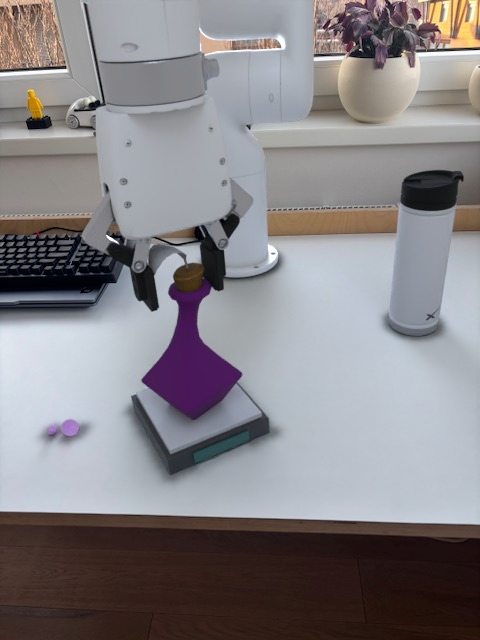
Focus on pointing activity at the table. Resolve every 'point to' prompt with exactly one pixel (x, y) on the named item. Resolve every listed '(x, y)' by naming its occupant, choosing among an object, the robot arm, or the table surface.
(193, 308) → the purple potion bottle
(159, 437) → the kitchen scale
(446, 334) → the table surface
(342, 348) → the table surface
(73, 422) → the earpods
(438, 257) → the travel mug
